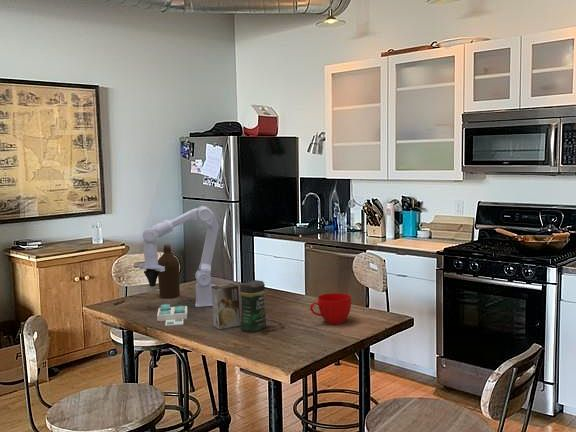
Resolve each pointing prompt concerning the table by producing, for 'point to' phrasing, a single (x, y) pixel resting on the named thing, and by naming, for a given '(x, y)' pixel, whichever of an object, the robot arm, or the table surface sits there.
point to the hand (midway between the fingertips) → (152, 286)
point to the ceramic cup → (333, 307)
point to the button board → (172, 314)
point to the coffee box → (225, 306)
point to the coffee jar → (253, 306)
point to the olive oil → (169, 275)
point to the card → (174, 322)
